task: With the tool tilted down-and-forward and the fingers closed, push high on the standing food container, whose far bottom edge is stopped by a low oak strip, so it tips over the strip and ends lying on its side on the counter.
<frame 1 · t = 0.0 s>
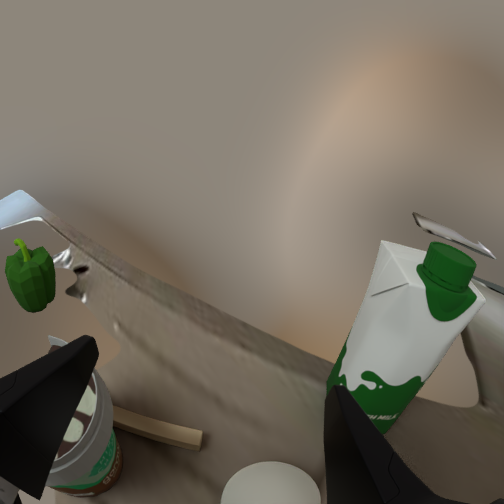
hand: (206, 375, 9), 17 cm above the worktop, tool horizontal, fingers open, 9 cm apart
bell pepper: (38, 303, 31), on the worktop
food container: (103, 460, 15), on the worktop
oak strip: (119, 421, 20), on the worktop
milk carton: (354, 408, 25), on the worktop
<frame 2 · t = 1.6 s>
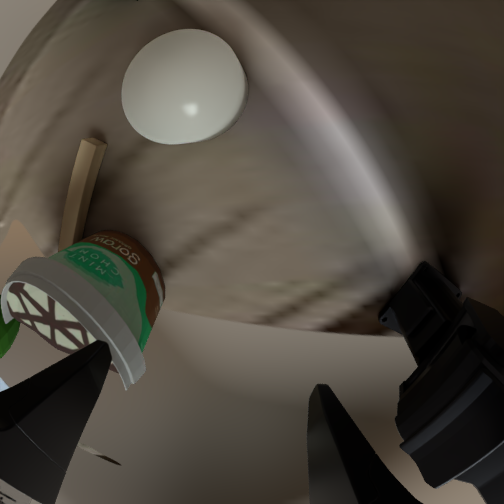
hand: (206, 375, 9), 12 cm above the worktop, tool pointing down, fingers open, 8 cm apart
bell pepper: (10, 309, 27), on the worktop
white domed puck: (196, 93, 16), on the worktop
food container: (119, 251, 21), on the worktop
oak strip: (77, 227, 20), on the worktop
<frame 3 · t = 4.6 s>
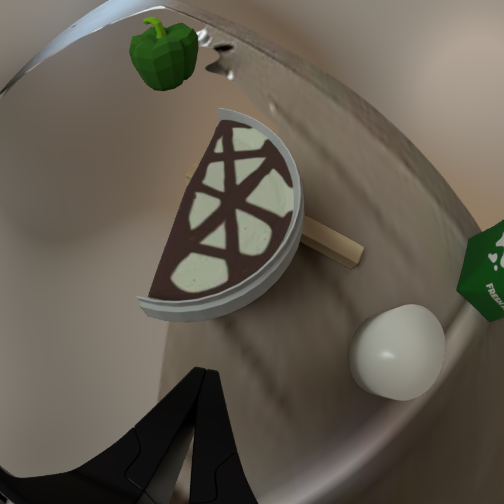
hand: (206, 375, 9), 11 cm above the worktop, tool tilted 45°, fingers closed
bell pepper: (170, 81, 30), on the worktop
white domed puck: (385, 354, 19), on the worktop
food container: (242, 265, 22), on the worktop
oak strip: (270, 216, 23), on the worktop
milk carton: (479, 280, 22), on the worktop
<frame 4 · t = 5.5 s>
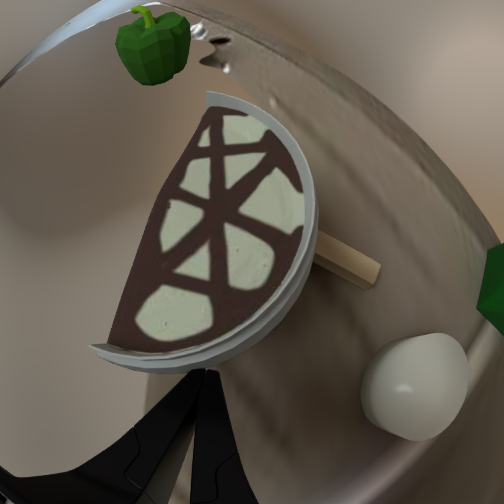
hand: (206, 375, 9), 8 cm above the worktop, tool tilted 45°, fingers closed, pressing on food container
bell pepper: (160, 75, 27), on the worktop
white domed puck: (401, 385, 16), on the worktop
food container: (237, 284, 18), on the worktop, touching gripper, oak strip
oak strip: (271, 227, 19), on the worktop
milk carton: (498, 295, 19), on the worktop
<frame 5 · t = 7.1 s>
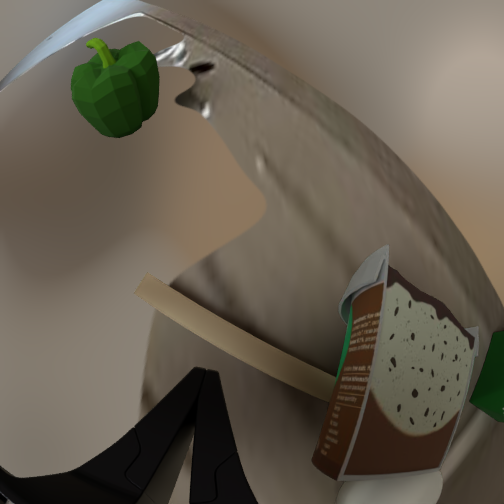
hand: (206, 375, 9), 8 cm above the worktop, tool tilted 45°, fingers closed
bell pepper: (129, 120, 24), on the worktop
white domed puck: (377, 489, 13), on the worktop
food container: (359, 466, 10), point 4 cm above the worktop, touching oak strip
oak strip: (251, 350, 16), on the worktop
milk carton: (496, 378, 16), on the worktop
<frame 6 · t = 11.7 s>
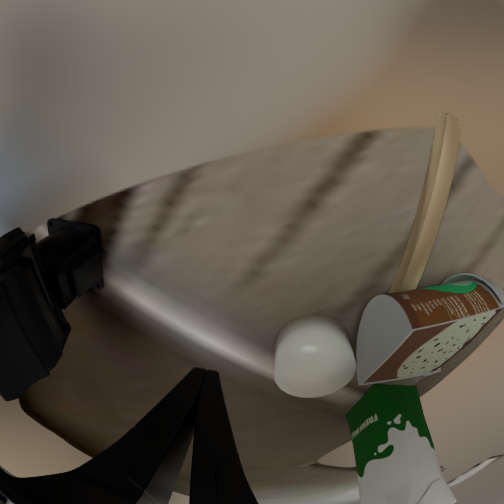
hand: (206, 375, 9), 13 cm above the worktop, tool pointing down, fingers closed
white domed puck: (311, 343, 25), on the worktop, touching food container
food container: (369, 327, 18), point 4 cm above the worktop, touching oak strip, white domed puck
oak strip: (425, 211, 18), on the worktop
milk carton: (381, 400, 28), on the worktop
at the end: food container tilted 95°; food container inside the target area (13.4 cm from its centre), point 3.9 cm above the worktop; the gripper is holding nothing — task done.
